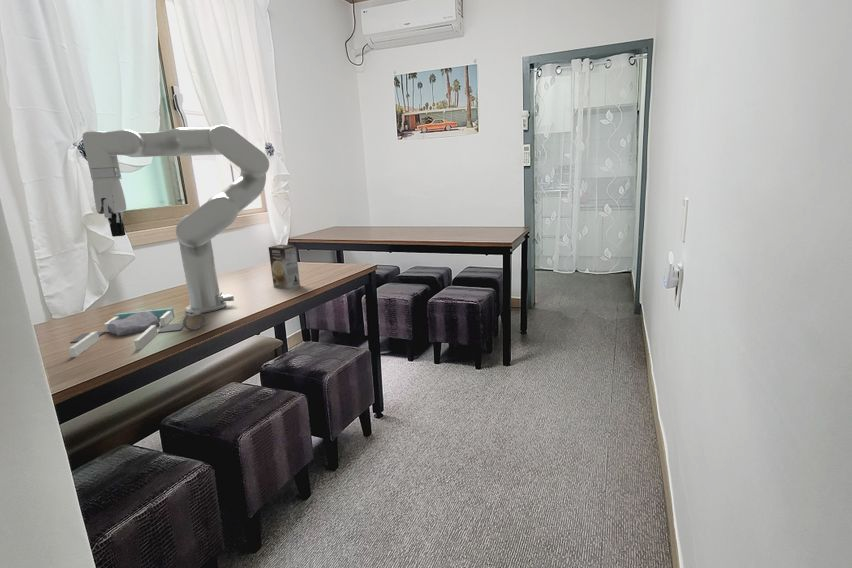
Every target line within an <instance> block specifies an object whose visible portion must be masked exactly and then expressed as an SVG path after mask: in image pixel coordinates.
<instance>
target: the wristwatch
mask: <svg viewBox="0 0 852 568" xmlns="http://www.w3.org/2000/svg"><path fill="white" fill-rule="evenodd" d="M198 315H199V316H200V317H201V322H200V323H199V324H198V325H197V326H196V327H193V328H191V327H189V326H188V324H186V322H187V320H188V318H191V317H195V316H198ZM205 322H206V318H205V315H204V314H203V313H200V312H198V311H194V312H190V313H189V312H186V313H185V314H184V317H183V320H182V323H183V326H184V327H183V328H185V329H187V330H190V331H195V330H199V329H200V328H202V327H203V326H204V324H205Z"/></svg>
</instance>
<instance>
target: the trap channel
mask: <svg viewBox="0 0 852 568" xmlns="http://www.w3.org/2000/svg"><path fill="white" fill-rule="evenodd" d="M142 311H143V310H140V311H131V312H121V313H116V314H114V317H112V318H111V319H109V320H108V321H106V322H105V323H103V327H104V330H103V331H92V332H89V333H82V334H79V335H78V336H76V338H73V340H71V341H70V344H71V343H73V345H71V346H70V347H69V348H68V351H69V354H70V358H77V357H78V356H80V355H81V354H82V353H83V352H85V351H86V350H87V349H89V348H90V347H91V346H93V345H94V344H96V343H97V342H98V341H100V337H101V336H102V335H104V334H105V333H110V332H109V330H108V324H109V322H110V321H112V320H120V319H125V318H127V317H129V316H130V315H133V314H136V313H138V312H142ZM145 311H146V312H151V313H153V314H154V315H155V316H156V317H157V318H158V321H159V323H160V326H161V328H160V329H159V331H158V329H157V328H158V327H156V325H151V326H150V327H149V328H148V329H147V330H145V331H142V333H141V334H140V335H139V336H138V337H137V338H135V339H134V341H133V342H134V348H135V350H136V351H137V350H142V349H144V347H145V346H146V345H147V344H148V343H149V342H150V341H151V340H152V339H153V338H154V337H155V336H156V335H158V334H163V333H171V332H180V331H181V330H182V329H183V328H185V327H184V326H183V322H177V323H170V322H171V321H172V320H173V319H174V318H175V314H174V308H173V307H170V308H160V309H150V310H149V309H148V310H145ZM186 325H188V324H187V321H186Z"/></svg>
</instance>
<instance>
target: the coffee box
mask: <svg viewBox="0 0 852 568" xmlns="http://www.w3.org/2000/svg"><path fill="white" fill-rule="evenodd" d="M267 248H268V254H269V260H270V261H269V262H270V269H271V276H272V277H271V278H272V284H273V288H278V289H284V290H290V289H294V288H297V287H300V286H301V282H300V281H301V280H300V274H299V273H300V271H299V264H298V263H299V261H298V256H297V253H298V252H297V247H296V245H289V244H288V245H287V244H277V245H273V246H269V247H267Z"/></svg>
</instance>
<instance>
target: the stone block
mask: <svg viewBox="0 0 852 568" xmlns="http://www.w3.org/2000/svg"><path fill="white" fill-rule="evenodd" d="M141 311H142V312H138V311H137V312H138V313H136V314H133V315H130V316H129V317H127V318H125V319H120V320H112V321H110V322H109V324H108V330H109V332H108V333H111V334H113V335H116V336H118V337H121V336H125V335H129V334H135V333H140V332H145V331H146V330H147V329H148V328H149V327H150V326H151V325H156V328H158V327H160V326H161V324H160V320H158V318H157V317H156V316H155V315H154V314H153V313H151V312H146V311H147V310H141Z"/></svg>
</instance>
